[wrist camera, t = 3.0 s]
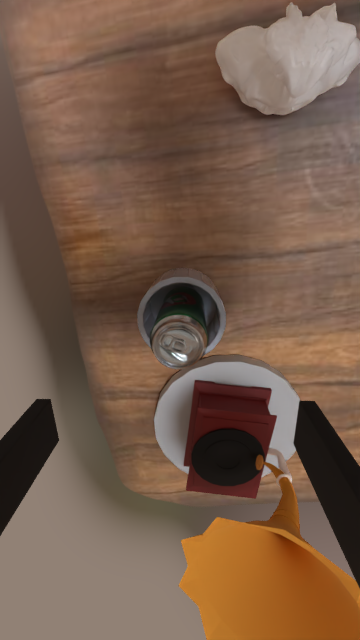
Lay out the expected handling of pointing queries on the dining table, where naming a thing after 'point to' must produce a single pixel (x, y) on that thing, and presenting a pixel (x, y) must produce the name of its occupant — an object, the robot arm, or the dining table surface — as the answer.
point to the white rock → (289, 59)
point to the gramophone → (243, 481)
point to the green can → (180, 329)
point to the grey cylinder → (183, 279)
